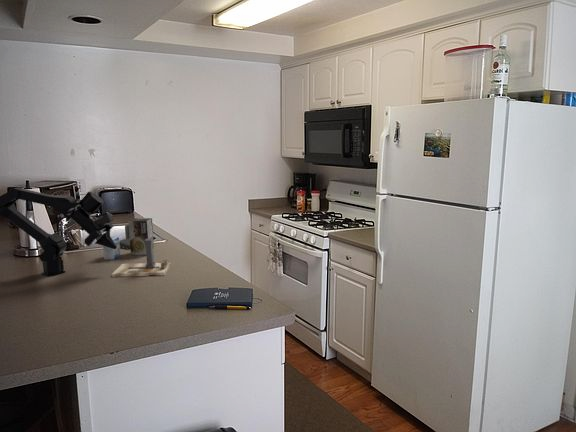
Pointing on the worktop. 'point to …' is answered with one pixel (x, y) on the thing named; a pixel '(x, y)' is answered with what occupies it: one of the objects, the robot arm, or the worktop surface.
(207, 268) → the worktop surface
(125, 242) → the media streaming box
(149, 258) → the dark grey tall block
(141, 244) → the coffee box
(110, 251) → the medicine box
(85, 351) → the worktop surface
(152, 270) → the switch panel
